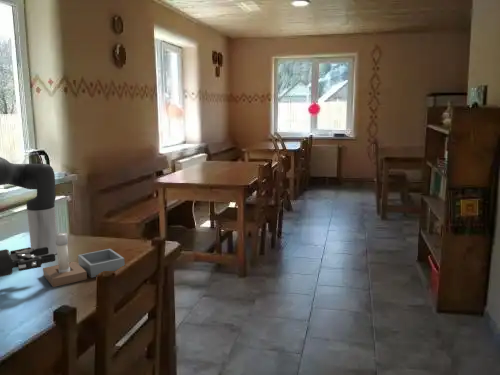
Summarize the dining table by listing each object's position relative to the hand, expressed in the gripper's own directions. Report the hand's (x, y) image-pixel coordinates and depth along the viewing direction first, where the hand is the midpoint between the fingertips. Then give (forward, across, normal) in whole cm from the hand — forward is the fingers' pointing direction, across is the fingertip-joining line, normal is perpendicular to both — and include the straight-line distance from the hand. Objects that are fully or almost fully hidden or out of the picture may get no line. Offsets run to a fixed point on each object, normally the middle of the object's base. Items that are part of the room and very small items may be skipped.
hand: (51, 253), depth 142 cm
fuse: (+3, 0, +8) cm, 9 cm away
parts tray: (+15, +1, +8) cm, 18 cm away
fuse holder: (+3, 0, +8) cm, 9 cm away
